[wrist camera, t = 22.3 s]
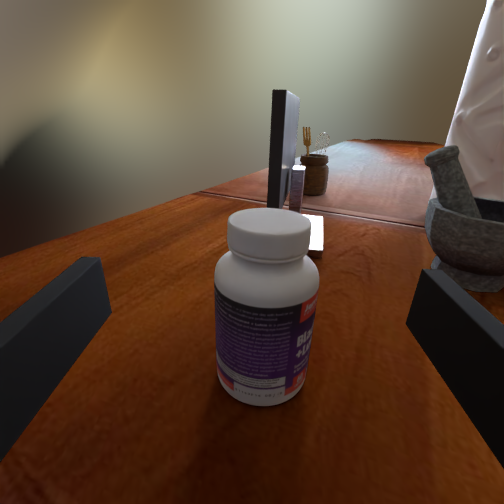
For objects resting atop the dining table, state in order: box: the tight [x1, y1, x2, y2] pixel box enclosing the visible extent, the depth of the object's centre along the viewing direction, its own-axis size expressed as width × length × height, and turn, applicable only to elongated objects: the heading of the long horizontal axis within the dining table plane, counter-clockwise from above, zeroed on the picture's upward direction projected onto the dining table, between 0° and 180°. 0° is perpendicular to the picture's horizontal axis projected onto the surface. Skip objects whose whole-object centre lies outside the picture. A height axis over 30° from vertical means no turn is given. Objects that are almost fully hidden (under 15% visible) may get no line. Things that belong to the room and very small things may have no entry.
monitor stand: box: [289, 166, 323, 259], centre depth 37 cm, size 8×12×8 cm, turn 168°
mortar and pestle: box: [424, 145, 504, 292], centre depth 28 cm, size 11×9×12 cm
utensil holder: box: [299, 127, 329, 195], centre depth 57 cm, size 6×6×12 cm
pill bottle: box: [214, 208, 319, 406], centre depth 16 cm, size 5×5×10 cm
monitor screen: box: [267, 90, 300, 209], centre depth 34 cm, size 1×16×11 cm, turn 168°
